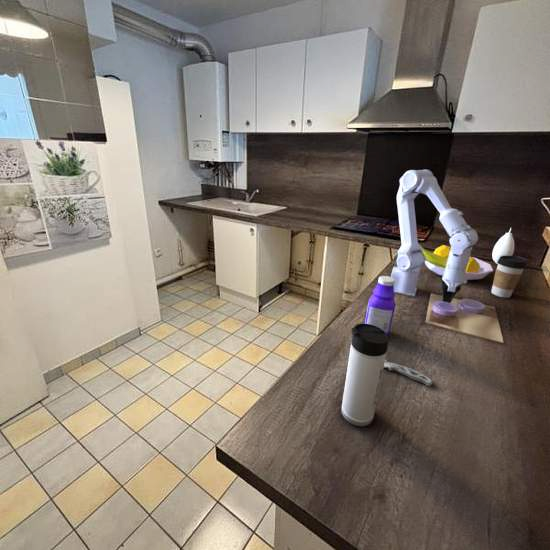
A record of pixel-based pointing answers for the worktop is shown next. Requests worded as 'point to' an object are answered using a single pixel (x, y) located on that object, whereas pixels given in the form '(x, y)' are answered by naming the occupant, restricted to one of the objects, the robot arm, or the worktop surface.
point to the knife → (408, 372)
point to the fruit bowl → (440, 258)
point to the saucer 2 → (472, 306)
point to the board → (466, 320)
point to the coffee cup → (507, 275)
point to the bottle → (382, 304)
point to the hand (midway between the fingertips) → (446, 302)
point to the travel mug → (364, 373)
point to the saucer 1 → (445, 308)
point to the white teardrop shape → (503, 247)
